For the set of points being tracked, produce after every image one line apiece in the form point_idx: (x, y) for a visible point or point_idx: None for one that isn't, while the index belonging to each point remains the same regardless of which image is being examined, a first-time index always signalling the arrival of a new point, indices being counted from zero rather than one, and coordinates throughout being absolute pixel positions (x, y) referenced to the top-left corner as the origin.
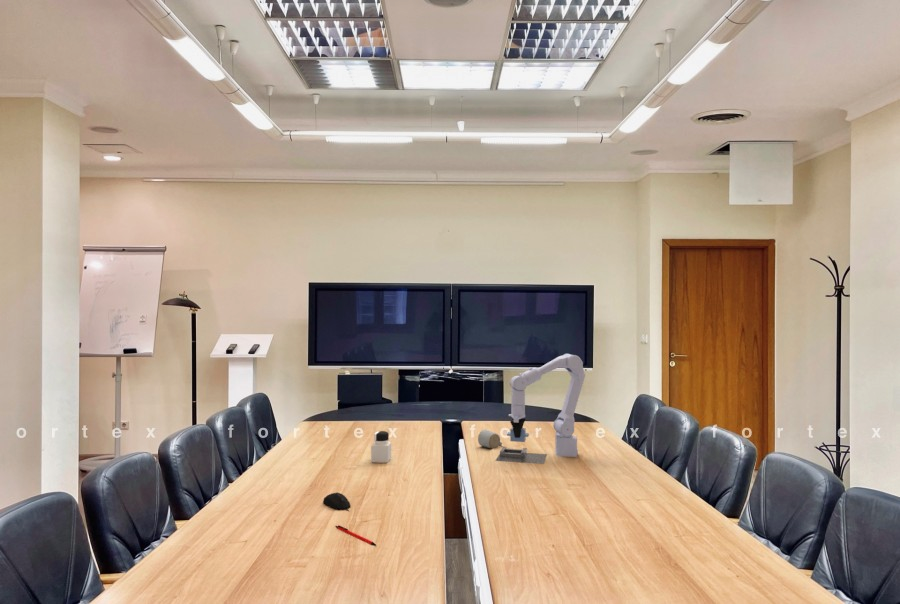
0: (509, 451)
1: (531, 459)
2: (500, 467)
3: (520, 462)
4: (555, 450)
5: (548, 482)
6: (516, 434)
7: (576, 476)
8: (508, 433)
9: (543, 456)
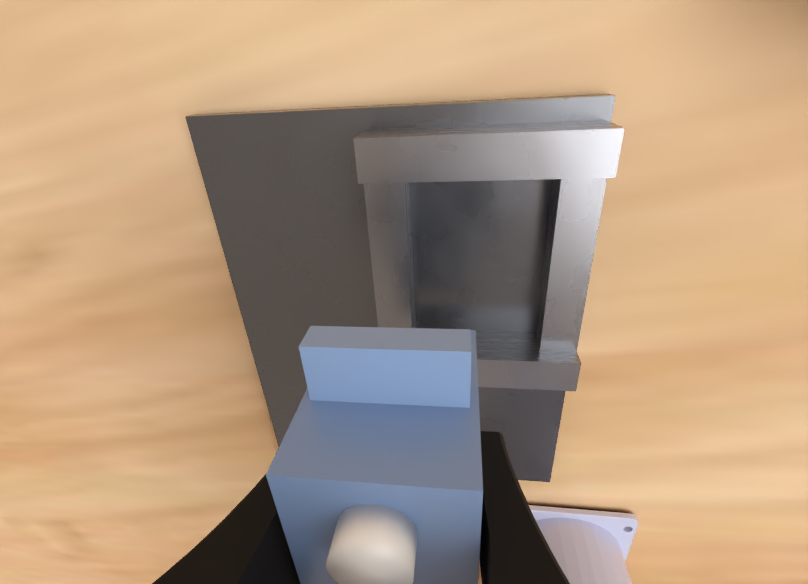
0: (553, 210)
1: None
2: (91, 195)
3: (247, 335)
4: (561, 548)
5: (23, 464)
6: None
7: (187, 552)
8: (341, 367)
9: None
